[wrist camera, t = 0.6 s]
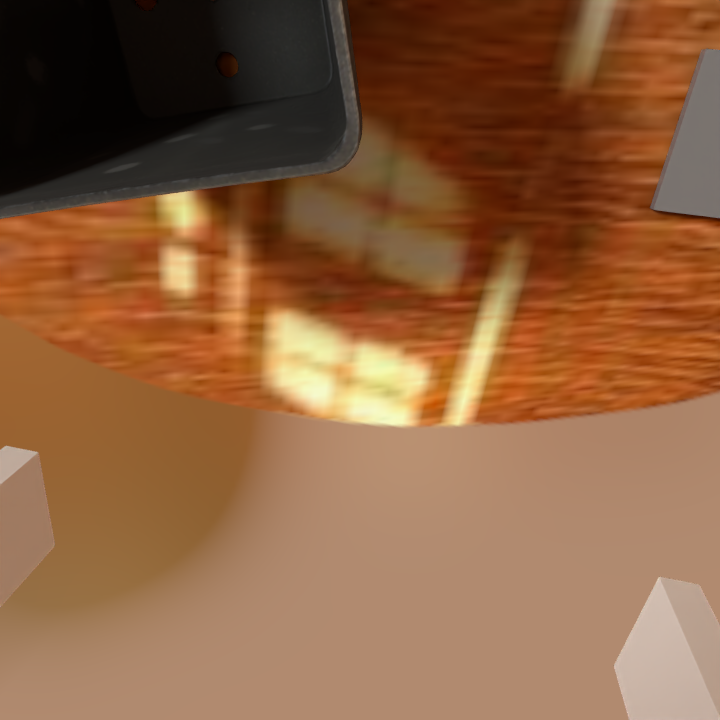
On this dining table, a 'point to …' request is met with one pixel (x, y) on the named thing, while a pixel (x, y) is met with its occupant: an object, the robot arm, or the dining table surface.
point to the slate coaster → (695, 147)
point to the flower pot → (169, 97)
